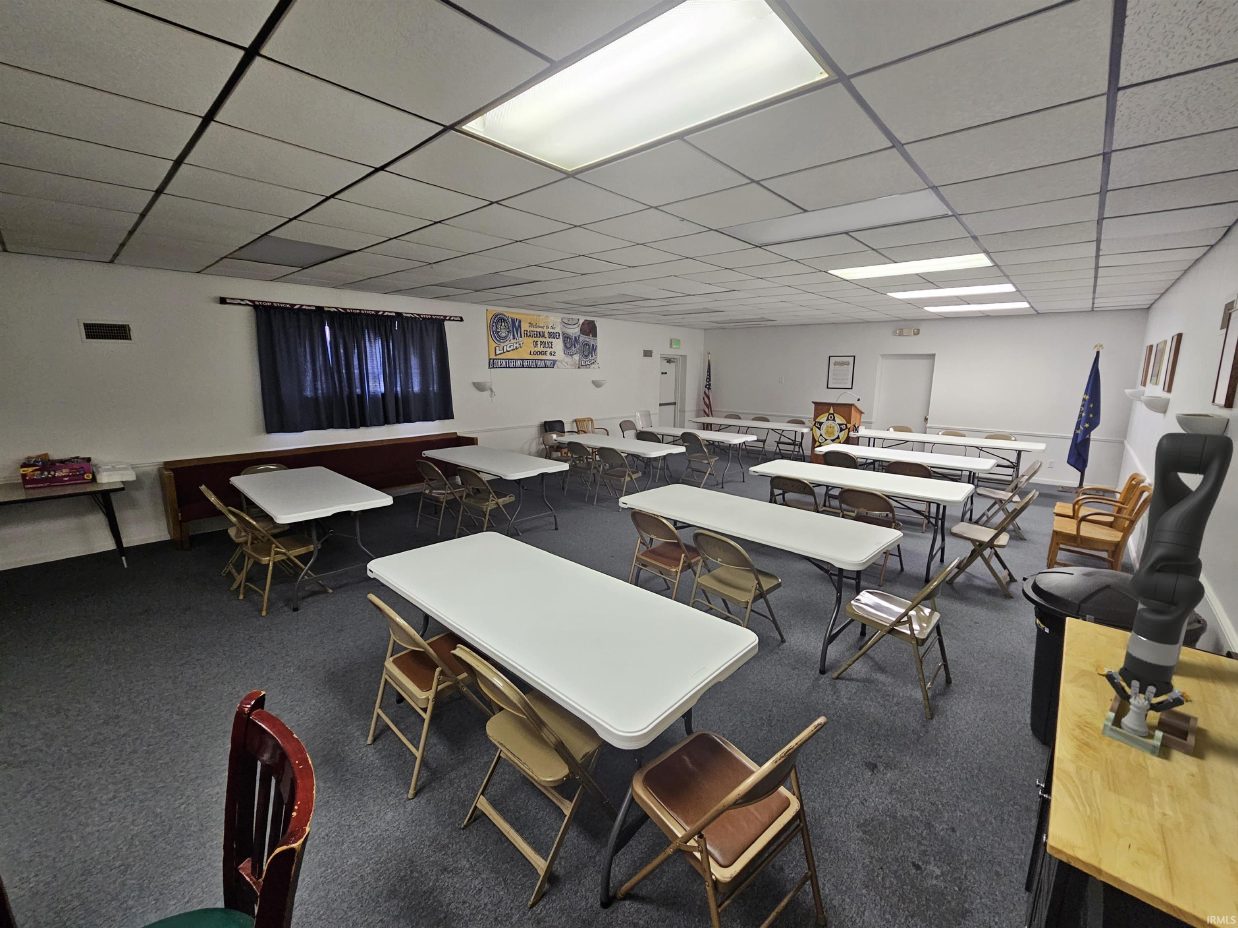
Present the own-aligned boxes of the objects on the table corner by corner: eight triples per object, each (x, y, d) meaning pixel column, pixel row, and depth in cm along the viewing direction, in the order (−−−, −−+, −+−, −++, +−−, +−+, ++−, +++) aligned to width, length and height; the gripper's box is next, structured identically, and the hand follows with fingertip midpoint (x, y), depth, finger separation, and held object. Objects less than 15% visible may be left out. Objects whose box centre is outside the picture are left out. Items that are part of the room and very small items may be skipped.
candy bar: (1187, 697, 121) (1189, 690, 121) (1189, 705, 118) (1191, 698, 118) (1095, 668, 133) (1096, 662, 132) (1094, 675, 130) (1096, 669, 130)
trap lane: (1118, 692, 122) (1119, 684, 122) (1196, 720, 112) (1198, 711, 112) (1101, 733, 108) (1103, 724, 108) (1189, 770, 98) (1192, 760, 98)
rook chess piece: (1131, 722, 112) (1138, 692, 110) (1153, 736, 107) (1161, 705, 106) (1114, 723, 111) (1120, 693, 110) (1135, 737, 107) (1142, 706, 106)
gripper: (1197, 661, 105) (1180, 728, 108) (1112, 635, 115) (1099, 698, 119) (1195, 675, 100) (1177, 745, 104) (1107, 647, 111) (1093, 711, 114)
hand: (1136, 719), depth 111 cm, fingers closed
